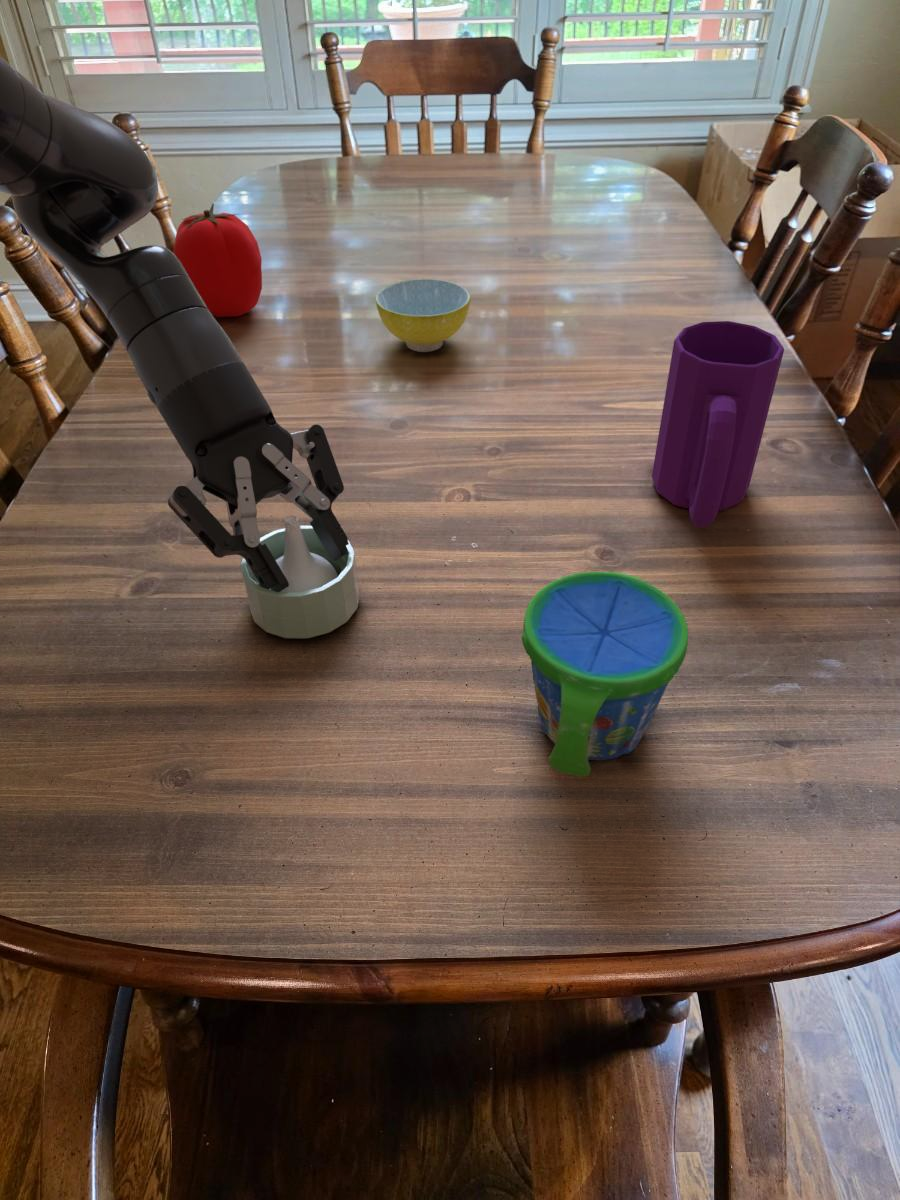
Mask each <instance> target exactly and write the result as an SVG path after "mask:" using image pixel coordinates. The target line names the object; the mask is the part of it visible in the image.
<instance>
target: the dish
mask: <svg viewBox="0 0 900 1200" xmlns="http://www.w3.org/2000/svg"><path fill="white" fill-rule="evenodd" d="M299 525H300V528H301V530H302V533H303V536H304V539H305V542H306V545H307V547H308V550H309V552H310V553H314V554H317V555H319V556H321V557H323V558H325V559H326V560H327V561H328V562H329V563H331V565H332V566H333V567H334V569H335V570H336V572H337V575H338V577H337V578H335V579H334V580H332V581H330V582H328V583H327V584H325V585H323V586H322V587H319V588H315V589H311V590H307V591H304V592H276V591H273V590H270V589H266V588H263V587H262V586H261V585H260V583H259V582H258V580H257V578H256V577H255V575H254V574H253V572H252V570H251V569H250V567H249V565H248V564H247V562H246V560H245V559H244V558H243V557H241V562H240V565H239V570H240V574H241V577H242V582H243V587H244V591H245V595H246V599H247V603H248V608H249V611H250V614H251V617H252V621H253V622H254V624H256V625H257V626H259V627H260V628H261V629H262V630H263V631H264V632H266V633H268V634H271V635H273V636H277V637H281V638H284V639H310V638H314V637H318V636H321V635H325V634H329V633H331V632H333V631H334V630H336V629H338V628H339V627H341V626H342V625H344V624H346V623H347V622H349V620H350V618H351V617H352V616H353V614H354V613H355V612H356V611H357V609H358V608H359V607H358V606H359V600H360V595H361V593H360V586H359V576H358V568H357V560H356V559H357V558H356V553H355V550H354V547H353V546H352V544H351V541H350V540H349V539H348V543H349V544H348V545H346V547H347V549H348V553H347V554H346V555H344V556H342V557H341V558H339V559H337V560H335V561H333V560H332V559H331V558H330V556H329V555H328V553H327V551H326V550H325V548H324V546H323V545H322V543H321V541H320V540H319V538H318V536H317V534H316V533H315V531H314V529H313V528H312V526H311V524H309V525H307V524H305V525H301V524H299ZM260 544H261V545H263V544H266V546H267V547H268V549H269V551H270V552H271V554H272V556H273V557H274V559H275V561H276V560H277V559H278V558H280V557H282V556H284V550H285V527H283V528H279V529H275V530H273V531H271V532H268V533H267V534H265V535H263V536H261V537H260Z"/></svg>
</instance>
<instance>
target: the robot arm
mask: <svg viewBox="0 0 900 1200" xmlns="http://www.w3.org/2000/svg"><path fill="white" fill-rule="evenodd" d="M0 192H1V193H4V194H7V195H11V199H12V205H13V209H14V212H15V214H16V216H17V218H18V220H19V222H20V223H21V225H22V226H23V227H24V229H25V230H26V231H27V232H28V233H29V235H30V236H31V237H32V238H33V239H34V240H35V241H36V242H37V243H38V244H40V246H41V247H43V248H44V249H45V251H47V252H48V253H49V254H50V255H51V256H52V257H53V258H54V259H55V260H57V261H58V262H59V263H60V265H62V266H63V268H65V269H66V270H67V271H68V272H69V273H70V274H71V276H73V277H74V278H75V280H76V281H77V282H78V283H79V284H80V285H81V286H82V288H84V290H85V291H86V292H87V294H89V296H90V297H91V298H92V299H93V300H94V302H95V303H96V304H97V305H98V307H99V308H100V309H101V311H102V312H103V314H104V316H105V317H106V319H107V321H108V322H109V324H110V325H111V326H112V328H113V330H114V332H115V333H116V335H117V337H118V338H119V340H120V342H121V344H122V345H123V347H124V348H125V350H126V352H127V354H128V356H129V358H130V359H131V361H132V364H133V366H134V369H135V371H136V374H137V375H138V378H139V380H140V382H141V383H142V385H143V387H144V388H145V390H146V394H147V397H148V398H149V401H151V403H152V404H153V405H154V406H155V407H156V409H157V410H158V412H159V413H160V416H161V417H162V419H163V420H164V422H165V424H166V425H167V427H168V429H169V430H170V432H171V434H172V435H173V437H174V438H175V441H176V442H177V444H178V445H179V447H180V448H181V450H182V452H183V454H184V455H185V457H186V458H187V460H188V461H189V462H190V464H191V467H192V474H193V478H192V479H191V480H190V481H189V482H187V483H186V484H185V485H178V486H176V488H175V489H174V490H173V492H172V493H171V495H170V496H169V497H168V499H167V504H168V507H169V509H171V510H172V511H173V513H175V514H176V516H177V517H178V518H179V519H180V520H181V521H182V522H183V523H184V525H185V526H187V528H188V529H189V530H190V531H191V532H192V533H193V534H194V536H195V537H196V538H197V539H198V540H199V541H200V542H201V543H202V544H203V545H204V546H205V548H206V549H208V551H209V552H210V553H211V554H213V556H214V557H215V558H218V559H221V558H225V557H227V556H240V557H241V558H244V559H245V560H246V562H247V564H248V565H249V567H250V569H251V570H252V572H253V574H254V575H255V577H256V578H257V580H258V582H259V583H260V585H261V586H262V587H263V588H266V589H271V590H273V591H276V592H280V591H282V590H284V589H285V588H287V587H288V586H289V583H288V581H287V579H286V577H285V576H284V574H283V572H282V571H281V569H280V567H279V566H278V564H277V562H276V561H275V559H274V557H273V556H272V554H271V552H270V551H269V549H268V547H267V546H266V544H263V545H261V544H260V538H261V537H260V532H259V531H260V530H259V526H258V520H257V515H258V509H257V505H258V504H259V503H261V501H262V500H264V499H270V498H273V497H275V496H277V495H279V496H280V497H281V498H282V499H284V500H285V501H286V502H288V503H291V504H293V505H294V506H295V507H297V508H298V509H299V510H300V511H302V512H303V513H304V514H306V515H307V517H309V518H310V519H312V520H311V521H310V522H309V525H311V526H312V528H313V529H314V531H315V533H316V534H317V536H318V538H319V540H320V541H321V543H322V545H323V546H324V548H325V550H326V551H327V553H328V555H329V556H330V558H331V559H332V560H333V561H335V560H337V559H339V558H341V557H342V556H344V555H346V554H347V553H348V549H347V547H346V545H348V544H349V543H348V540H349V539H348V536H347V533H345V531H344V529H343V527H342V526H341V524H340V522H339V521H338V519H337V517H336V515H335V514H334V512H333V509H332V506H333V503H334V502H335V500H336V499H337V498H338V497H339V496H340V495H341V494H342V493H343V492H344V490H345V486H344V482H343V480H342V477H341V475H340V472H339V469H338V466H337V464H336V460H335V458H334V455H333V452H332V449H331V446H330V444H329V440H328V438H327V434H326V433H325V429H324V428H323V426H322V425H320V424H312V425H311V426H310V427H309V428H308V429H306V430H301V431H295V432H292V433H290V432H289V431H288V430H287V429H286V428H284V427H283V426H281V425H280V424H279V423H278V422H277V420H276V418H275V416H274V413H273V411H272V408H271V407H270V405H269V403H268V401H267V400H266V398H265V396H264V395H263V393H262V391H261V389H260V388H259V386H258V384H257V383H256V381H255V379H254V377H253V376H252V375H251V372H250V371H249V369H248V367H247V365H246V364H245V362H244V361H243V359H242V357H241V355H240V354H239V352H238V350H237V349H236V347H235V345H234V343H233V342H232V340H231V338H230V337H229V335H228V334H227V333H226V331H225V330H224V328H223V327H222V326H221V325H220V323H219V322H218V321H217V319H216V318H215V316H213V315H212V314H211V312H210V311H209V310H208V307H207V306H206V304H205V302H204V301H203V299H202V297H201V296H200V294H199V292H198V290H197V289H196V287H195V285H194V284H193V282H192V280H191V279H190V277H189V275H188V274H187V272H186V270H185V268H184V267H183V265H182V264H181V262H180V261H179V259H178V258H177V257H176V255H175V254H174V251H172V250H170V249H169V248H167V247H165V246H162V245H158V244H157V245H156V244H151V245H150V244H149V245H142V246H138V247H135V248H134V247H133V248H132V249H129V250H126V251H122V252H120V253H117V254H114V255H109V256H105V255H104V253H103V252H102V249H101V248H102V247H103V246H105V244H107V243H109V242H110V241H111V240H113V239H114V238H115V237H117V236H119V235H121V233H123V232H124V231H126V230H128V228H130V227H131V226H134V225H135V224H136V223H137V222H139V221H141V220H142V219H144V218H145V217H146V216H147V215H148V214H149V213H150V212H151V211H152V210H153V208H154V207H155V205H156V203H157V200H158V194H159V181H158V176H157V173H156V170H155V167H154V165H153V163H152V161H151V159H150V158H149V156H148V155H147V152H145V150H144V149H143V148H142V146H141V145H139V143H138V142H137V141H136V140H135V139H134V138H133V137H131V135H129V134H128V133H127V132H125V131H124V130H123V129H121V127H120V126H119V127H118V125H116V124H114V123H113V122H111V121H110V120H107V119H106V118H103V117H102V116H99V115H97V114H95V113H92V112H90V111H88V110H85V109H82V108H80V107H77V106H75V105H72V104H70V103H68V102H65V101H63V100H62V99H58V98H56V97H54V96H52V95H50V94H46V93H44V92H42V91H41V90H40V89H39V88H38V87H37V86H35V84H33V83H32V82H31V81H30V80H29V79H28V78H26V76H24V75H23V74H22V73H20V71H18V70H17V69H16V68H15V67H13V66H12V65H11V64H10V63H9V62H8V61H7V60H6V59H4V58H3V57H2V56H1V55H0ZM294 450H295V451H297V453H298V455H299V456H300V457H301V458H303V459H305V460H306V462H307V465H308V467H309V471H310V474H311V476H312V479H313V482H314V484H313V483H312V480H311V478H310V477H308V475H306V474H305V473H304V472H303V471H302V470H301V469H300V468H298V467H297V466H296V465H295V464H294V463H293V453H294ZM203 491H205V492H207V493H208V494H211V495H213V496H214V497H217V498H219V499H221V500H222V501H224V502H225V507H226V512H227V517H228V522H229V525H230V527H231V528H232V533H233V535H231V533H230V532H229V531H228V530H227V529H226V528H225V526H224V525H223V524H221V522H220V521H219V520H218V519H217V518H216V517H215V516H214V515H213V513H212V512H211V511H210V510H209V509H208V508H207V507H206V504H207V498H206V497H205V494H204V492H203Z"/></svg>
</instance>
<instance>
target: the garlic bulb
mask: <svg viewBox="0 0 900 1200" xmlns="http://www.w3.org/2000/svg"><path fill="white" fill-rule="evenodd" d="M283 523H284V528H285V550H284V556H282V557H280V558H278V559H277V560H276V562H277V564H278V566H279V567H280V569H281V571H282V572H283V574H284V576H285V577H286V579H287V581H288V583H289V586H288V587H287V588H285V589H284V590H282V591H280V592H304V591H307V590H311V589H315V588H319V587H322V586H323V585H325V584H327V583H328V582H330V581H332V580H334V579H335V578H337V577H338V575H337V572H336V570H335V569H334V567H333V566H332V565H331V563H329V562H328V561H327V560H326V559H325V558H323V557H321V556H319V555H317V554H314V553H310V552H309V550H308V547H307V545H306V542H305V539H304V536H303V533H302V530H301V528H300V525H301V524H300V523H299V517H298V516H296V515H288V516H285V517H284V518H283ZM270 590H271V589H270Z"/></svg>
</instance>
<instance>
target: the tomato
mask: <svg viewBox="0 0 900 1200" xmlns="http://www.w3.org/2000/svg"><path fill="white" fill-rule="evenodd" d="M214 207H215V204H214V203H212V204H211V205H210V208H209V209H205V210H203V213H198V214H193V215H192V214H191V215H190V216H188V217H185V218H182V219H181V223H180V224H179V225H178V227H177V231H176V235H175V238H174V240H175V241H174V245H173V253H174V254H175V255H176V257H177V258H178V259H179V261H180V262H181V264H182V265H183V267H184V268H185V270H186V272H187V274H188V275H189V277H190V279H191V280H192V282H193V284H194V285H195V287H196V289H197V290H198V292H199V294H200V296H201V297H202V299H203V301H204V302H205V304H206V306H207V307H208V310H209V311H210V312H211V314H212V315H213V317H216V318H231V317H240V316H242V315H245V314H247V313H249V312H251V311H252V310H253V309H254V308H255V307H256V306H257V304H258V303H259V300H260V296H261V292H262V289H263V271H262V260H263V259H262V256H261V251H260V247H259V243H258V241H257V239H256V238H255V236H254V234H253V233H252V231H251V229H250V227H249V226H248V225H247V224H246V222H244V221H243V220H241V219H240V218H239V217H238V216H237V215H239V213H235V214H234V213H228V212H221V213H216V214H215V213H214Z"/></svg>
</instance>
